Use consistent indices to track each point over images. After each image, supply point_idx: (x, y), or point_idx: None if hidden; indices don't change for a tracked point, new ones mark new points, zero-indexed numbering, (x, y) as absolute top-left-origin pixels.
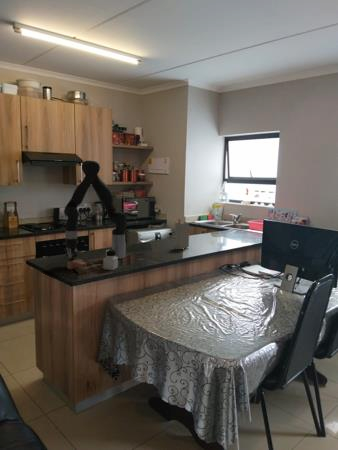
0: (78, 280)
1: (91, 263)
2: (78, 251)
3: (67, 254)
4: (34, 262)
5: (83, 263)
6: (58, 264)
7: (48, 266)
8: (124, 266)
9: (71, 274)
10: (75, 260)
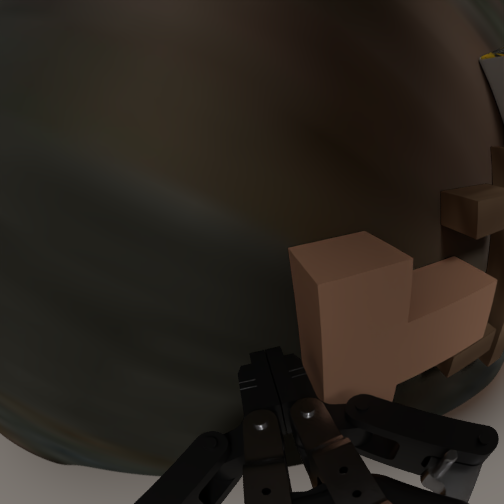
0: (500, 365)
1: (493, 212)
2: (492, 439)
3: (231, 488)
4: (39, 450)
5: (484, 317)
6: (128, 405)
7: (164, 458)
8: (496, 7)
9: (442, 385)
10: (342, 364)
